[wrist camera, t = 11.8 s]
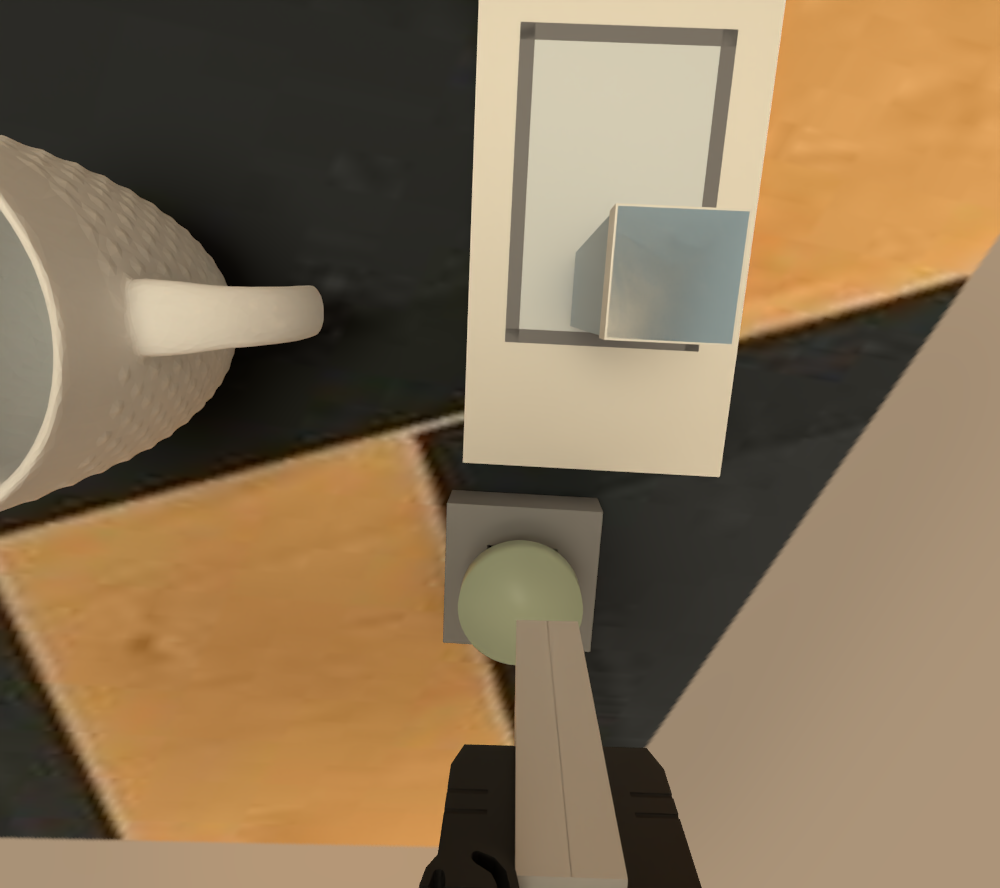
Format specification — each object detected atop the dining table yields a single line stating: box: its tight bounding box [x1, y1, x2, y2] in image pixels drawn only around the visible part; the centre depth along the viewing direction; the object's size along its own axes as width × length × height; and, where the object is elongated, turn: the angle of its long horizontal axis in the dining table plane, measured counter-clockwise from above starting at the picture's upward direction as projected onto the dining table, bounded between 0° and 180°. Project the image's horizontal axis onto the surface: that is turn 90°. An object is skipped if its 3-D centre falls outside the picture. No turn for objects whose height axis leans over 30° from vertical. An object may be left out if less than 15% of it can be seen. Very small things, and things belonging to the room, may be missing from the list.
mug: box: [0, 135, 324, 511], centre depth 20 cm, size 15×11×13 cm
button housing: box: [443, 490, 603, 652], centre depth 28 cm, size 7×7×2 cm
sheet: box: [463, 0, 786, 477], centre depth 25 cm, size 12×24×1 cm, turn 177°
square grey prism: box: [570, 203, 752, 346], centre depth 20 cm, size 3×3×12 cm
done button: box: [458, 540, 583, 665], centre depth 26 cm, size 5×5×4 cm
